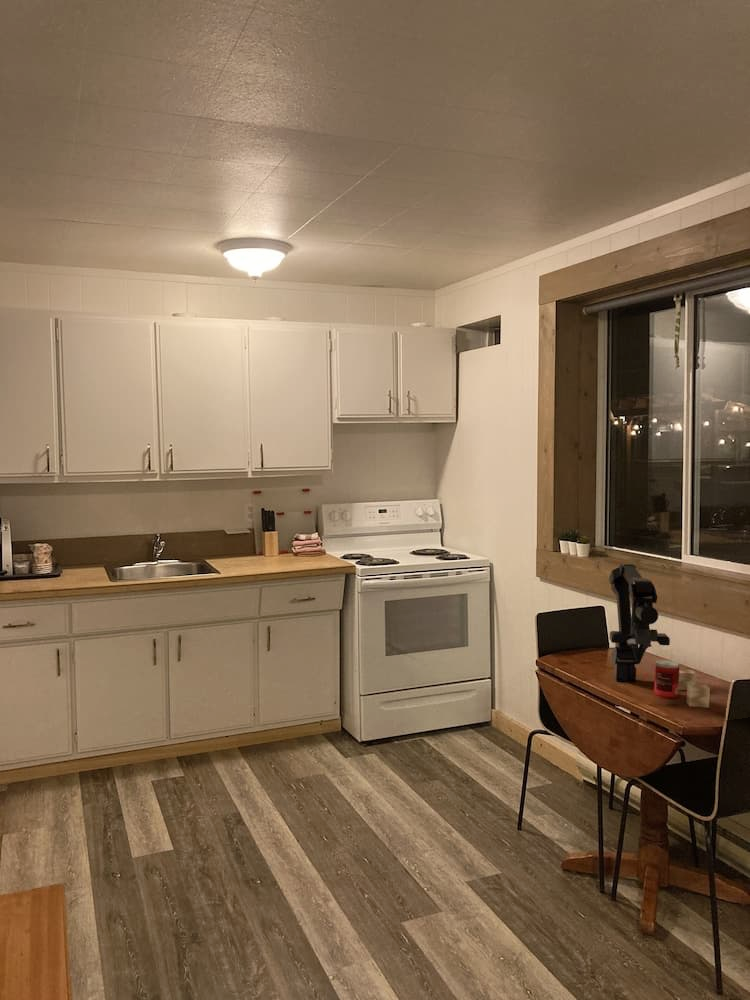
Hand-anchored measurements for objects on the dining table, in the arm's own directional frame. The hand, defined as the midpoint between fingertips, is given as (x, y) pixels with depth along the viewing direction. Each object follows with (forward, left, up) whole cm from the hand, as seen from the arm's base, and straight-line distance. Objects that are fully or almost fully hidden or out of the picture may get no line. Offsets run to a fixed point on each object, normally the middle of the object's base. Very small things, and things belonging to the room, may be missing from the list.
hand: (638, 663), depth 282 cm
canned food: (+10, 0, -11) cm, 14 cm away
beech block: (+18, -9, -10) cm, 22 cm away
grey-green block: (+18, +9, -10) cm, 22 cm away
